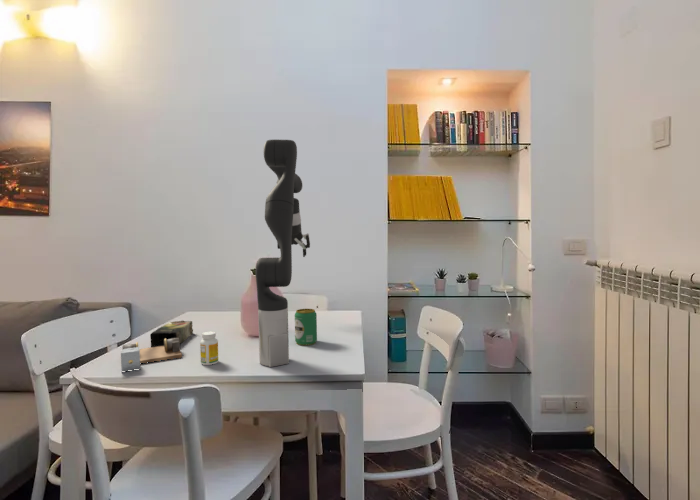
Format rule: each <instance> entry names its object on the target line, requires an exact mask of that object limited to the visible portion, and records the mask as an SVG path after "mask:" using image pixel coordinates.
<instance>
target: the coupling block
mask: <svg viewBox="0 0 700 500" xmlns="http://www.w3.org/2000/svg"><path fill="white" fill-rule="evenodd" d="M139 349H140V346H138V347H134V348H127V349H123V348H121V349H120V363H121V368H120V369H121V372H122V371H128V370H134V369H139V368H140V369H141V364H140V350H139Z"/></svg>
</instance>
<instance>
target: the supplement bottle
mask: <svg viewBox="0 0 700 500" xmlns="http://www.w3.org/2000/svg"><path fill="white" fill-rule="evenodd" d="M216 334H217V333H216V332H215V331H206V332H205V331H204V332H202V334H201V335H202V339H201V340H200V341H199V347H200V349H199V351H200V352H199V353H200V354H199V355H200V364H201V365H202V364H203V365H202V366H212V364H213V365H216V364H217V363H219V340H218V339H217V338H216V336H217V335H216Z"/></svg>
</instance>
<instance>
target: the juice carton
mask: <svg viewBox="0 0 700 500" xmlns="http://www.w3.org/2000/svg"><path fill="white" fill-rule="evenodd" d="M193 334H194V329H193V321H192V320H179V321H178V320H177V321H169V322H167V323H165V324H163V325H162V326H160V327H158V328H157V329H156V330H153V331H152V332H151V333H150V337H149V338H150V347H155V346H156V345H157V344H159V343H161V341H164V339H165V338H166V337H169V336H170V335H172V336H173V338H179V342H180V344H182V343H184V342H185V341H186V340H187V339H188V338H189V337H191V335H193Z"/></svg>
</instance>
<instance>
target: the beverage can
mask: <svg viewBox="0 0 700 500" xmlns="http://www.w3.org/2000/svg"><path fill="white" fill-rule="evenodd" d="M315 310H316V309H313V308H298V309H296V310H295V313H294V333H295V334H294V339H295V341H294V342H296V344H297V345H298V346H312V345H315V344H316V343H317V341H318V327H317V326H318V325H317V323H318V322H317V321H318V319H317V312H316V311H315Z"/></svg>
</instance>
